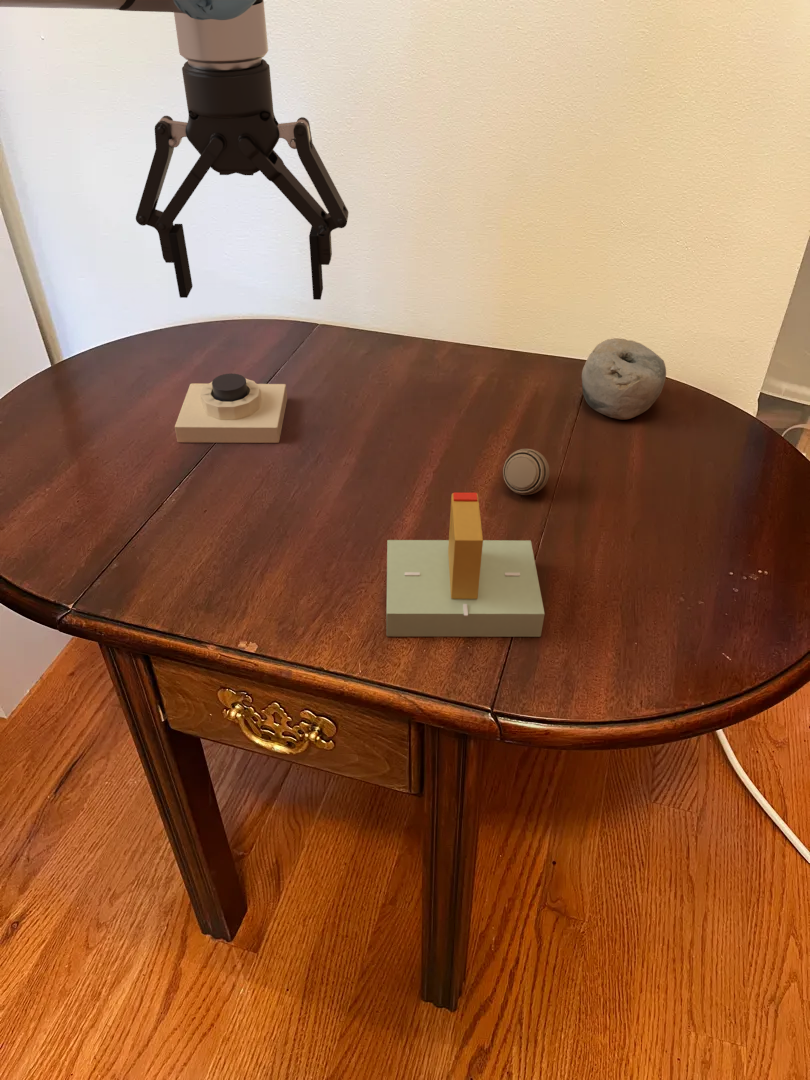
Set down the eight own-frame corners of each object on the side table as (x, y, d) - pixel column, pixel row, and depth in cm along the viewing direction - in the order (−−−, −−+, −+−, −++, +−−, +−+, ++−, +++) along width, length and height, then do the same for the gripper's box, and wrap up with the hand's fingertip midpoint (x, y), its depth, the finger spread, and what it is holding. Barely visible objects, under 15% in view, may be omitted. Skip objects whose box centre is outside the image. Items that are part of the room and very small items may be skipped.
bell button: (211, 403, 99) (209, 390, 98) (216, 385, 102) (214, 373, 101) (245, 403, 99) (243, 390, 98) (249, 386, 102) (248, 373, 101)
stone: (551, 374, 104) (604, 309, 103) (586, 409, 112) (637, 350, 110) (604, 412, 98) (662, 344, 96) (638, 447, 105) (692, 384, 104)
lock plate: (386, 639, 75) (386, 615, 73) (387, 560, 84) (387, 536, 82) (541, 639, 76) (545, 615, 74) (527, 560, 84) (530, 536, 82)
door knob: (496, 479, 94) (499, 442, 91) (538, 474, 95) (543, 437, 92) (508, 506, 90) (513, 468, 87) (552, 501, 91) (558, 463, 88)
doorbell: (177, 442, 99) (171, 413, 96) (192, 398, 106) (188, 370, 104) (279, 443, 99) (276, 414, 96) (287, 398, 107) (284, 370, 104)
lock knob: (477, 599, 75) (483, 538, 70) (450, 599, 75) (454, 537, 70) (473, 551, 80) (478, 491, 75) (448, 551, 80) (451, 491, 75)
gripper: (371, 52, 75) (374, 279, 89) (93, 48, 75) (140, 276, 89) (367, 71, 69) (371, 310, 83) (67, 67, 70) (121, 307, 83)
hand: (252, 293), depth 86 cm, fingers open, 13 cm apart
